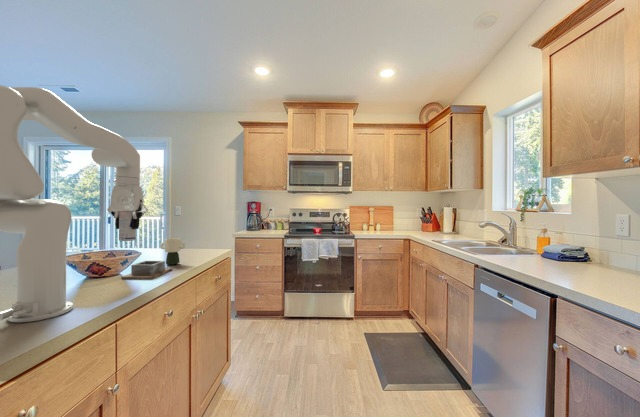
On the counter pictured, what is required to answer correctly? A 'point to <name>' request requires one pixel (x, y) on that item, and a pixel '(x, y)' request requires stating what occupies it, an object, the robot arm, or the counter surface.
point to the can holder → (147, 270)
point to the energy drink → (126, 226)
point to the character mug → (172, 250)
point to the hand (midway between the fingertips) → (127, 228)
